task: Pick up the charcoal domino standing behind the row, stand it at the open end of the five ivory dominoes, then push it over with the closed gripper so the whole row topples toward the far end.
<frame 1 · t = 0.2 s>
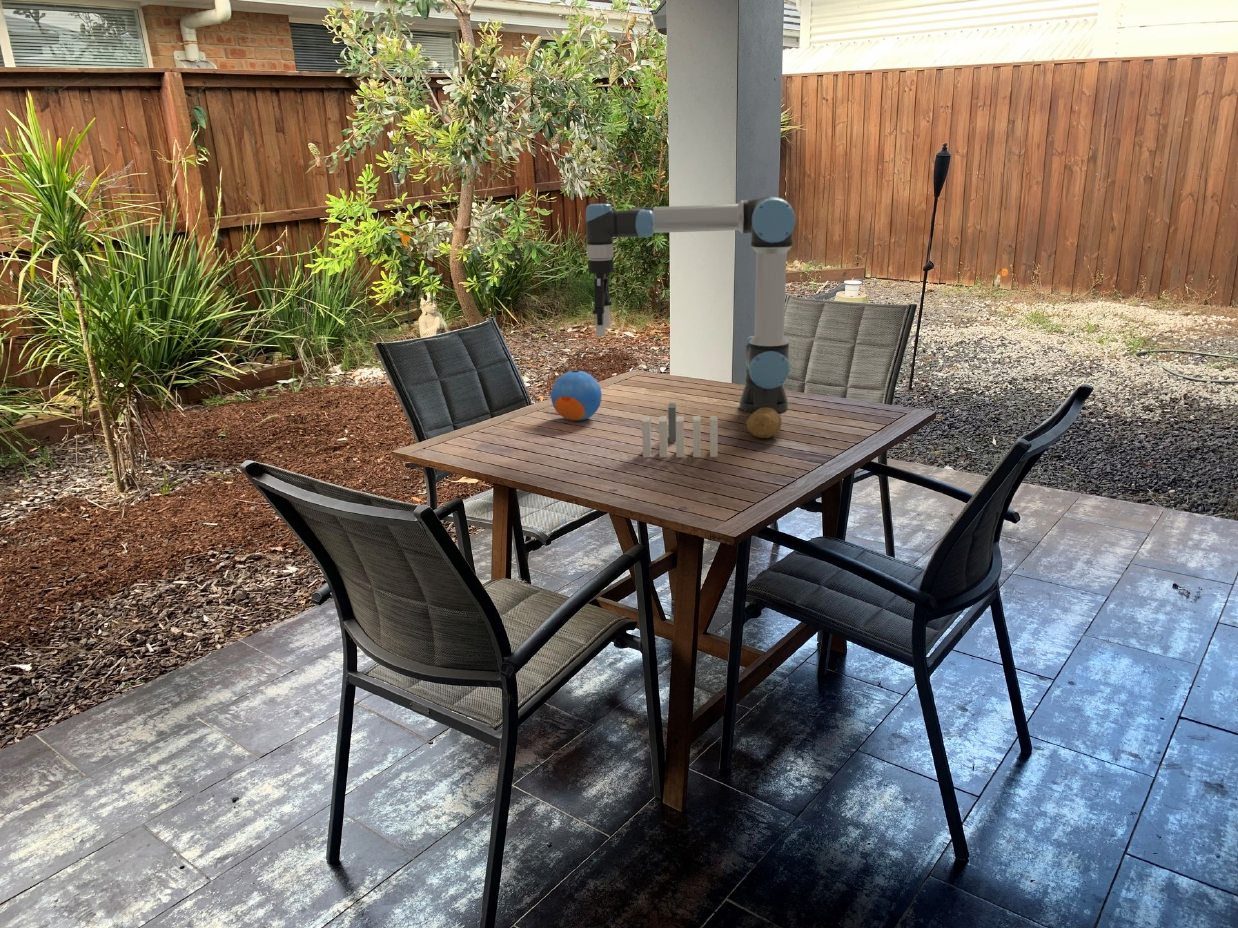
hand: (603, 331, 271), 28 cm above the table, tool pointing down, fingers open, 13 cm apart
potato: (763, 437, 259), on the table
domino 5: (647, 454, 247), on the table
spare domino: (672, 439, 260), on the table
domino 4: (663, 454, 247), on the table
domino 1: (713, 454, 246), on the table
domino 2: (696, 454, 246), on the table
treat dispenser ball: (577, 420, 282), on the table
domino 3: (680, 454, 246), on the table
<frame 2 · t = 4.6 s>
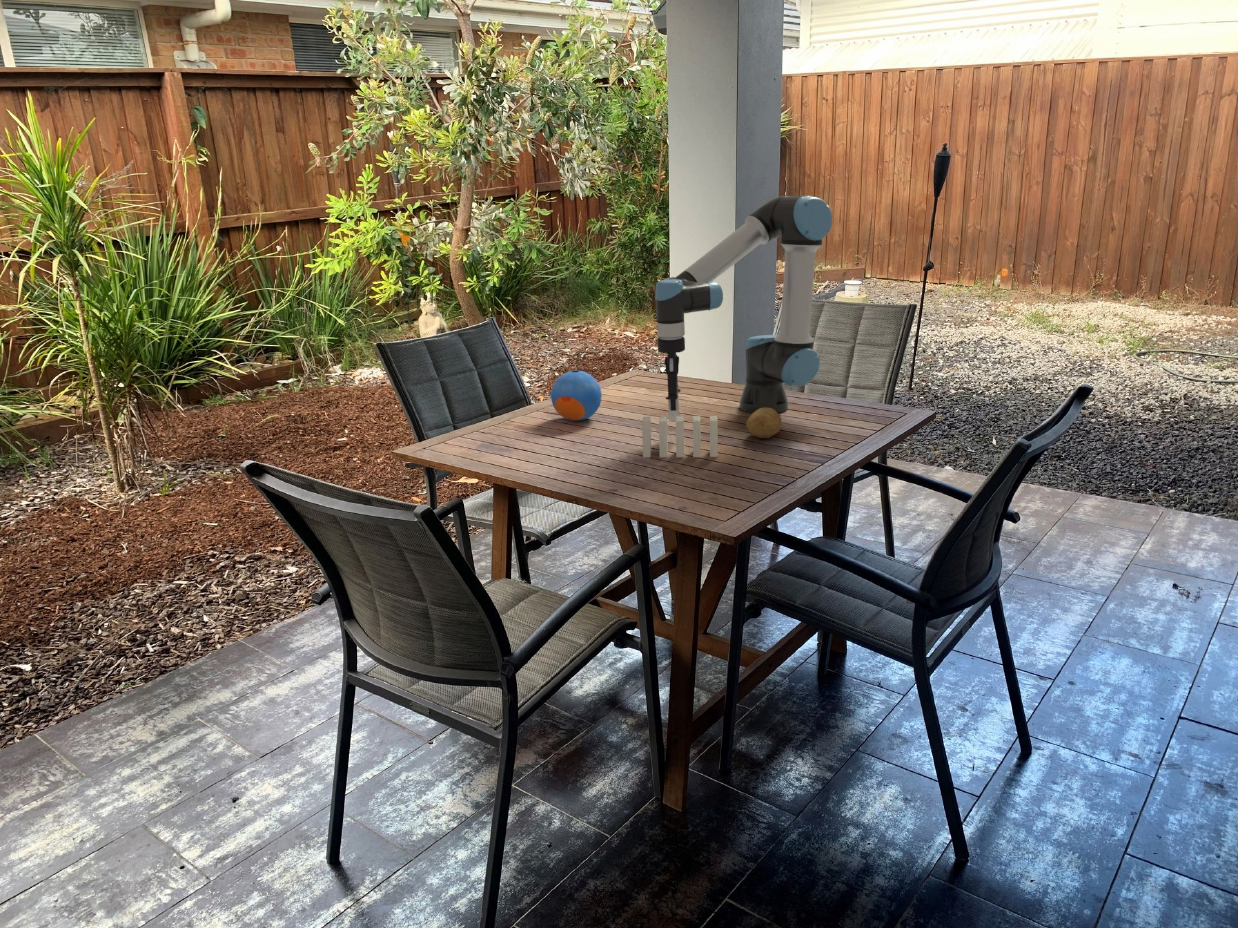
hand: (674, 417, 258), 6 cm above the table, tool pointing down, fingers closed on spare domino, 5 cm apart
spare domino: (674, 419, 258), point 6 cm above the table, touching gripper
everything else where it was.
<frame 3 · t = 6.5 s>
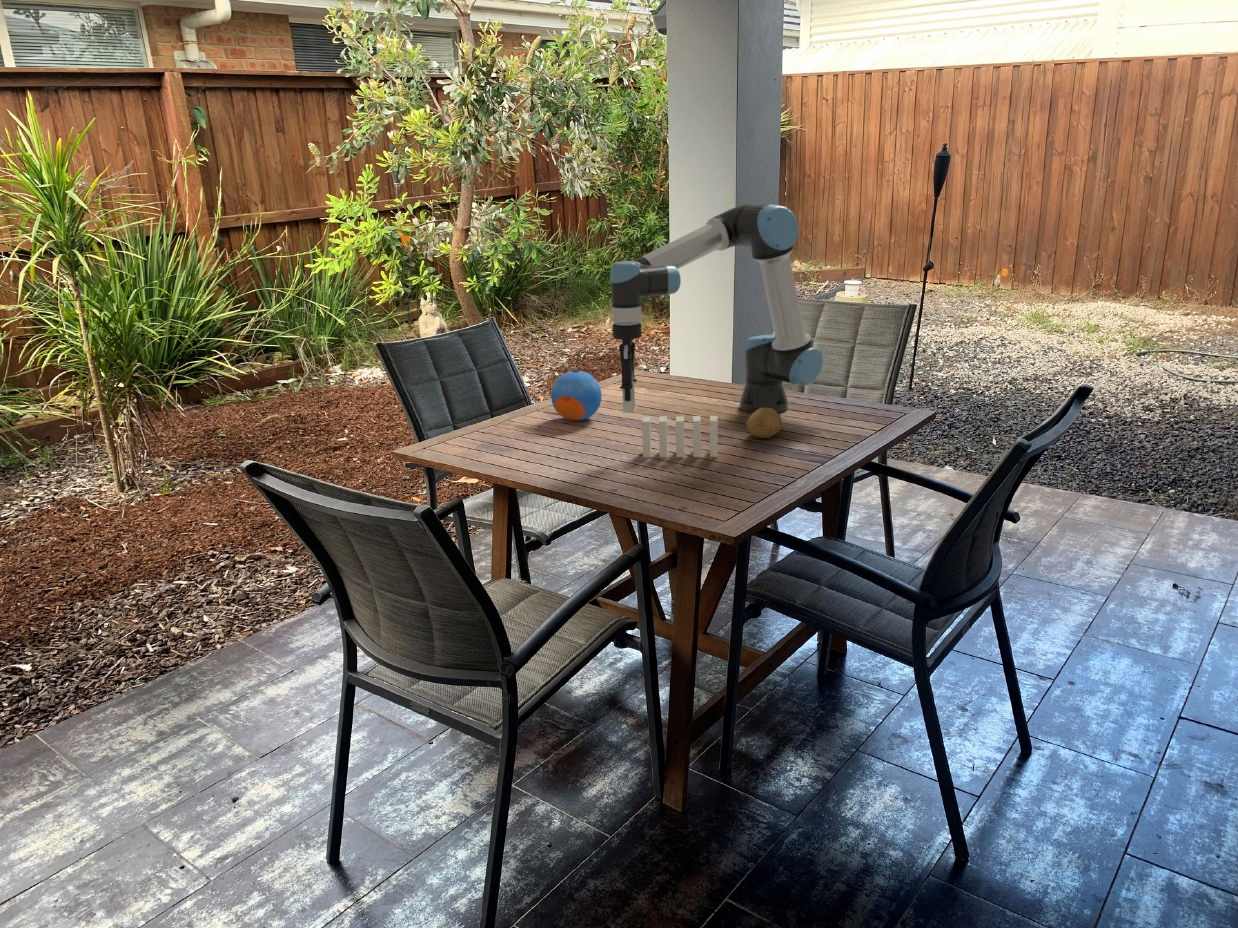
hand: (629, 409, 243), 13 cm above the table, tool pointing down, fingers closed on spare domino, 5 cm apart
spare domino: (629, 410, 244), point 12 cm above the table, touching gripper
everything else where it was.
when the fingers open (0 cm above the table, at t = 8.9 s): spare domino stays where it is, on the table.
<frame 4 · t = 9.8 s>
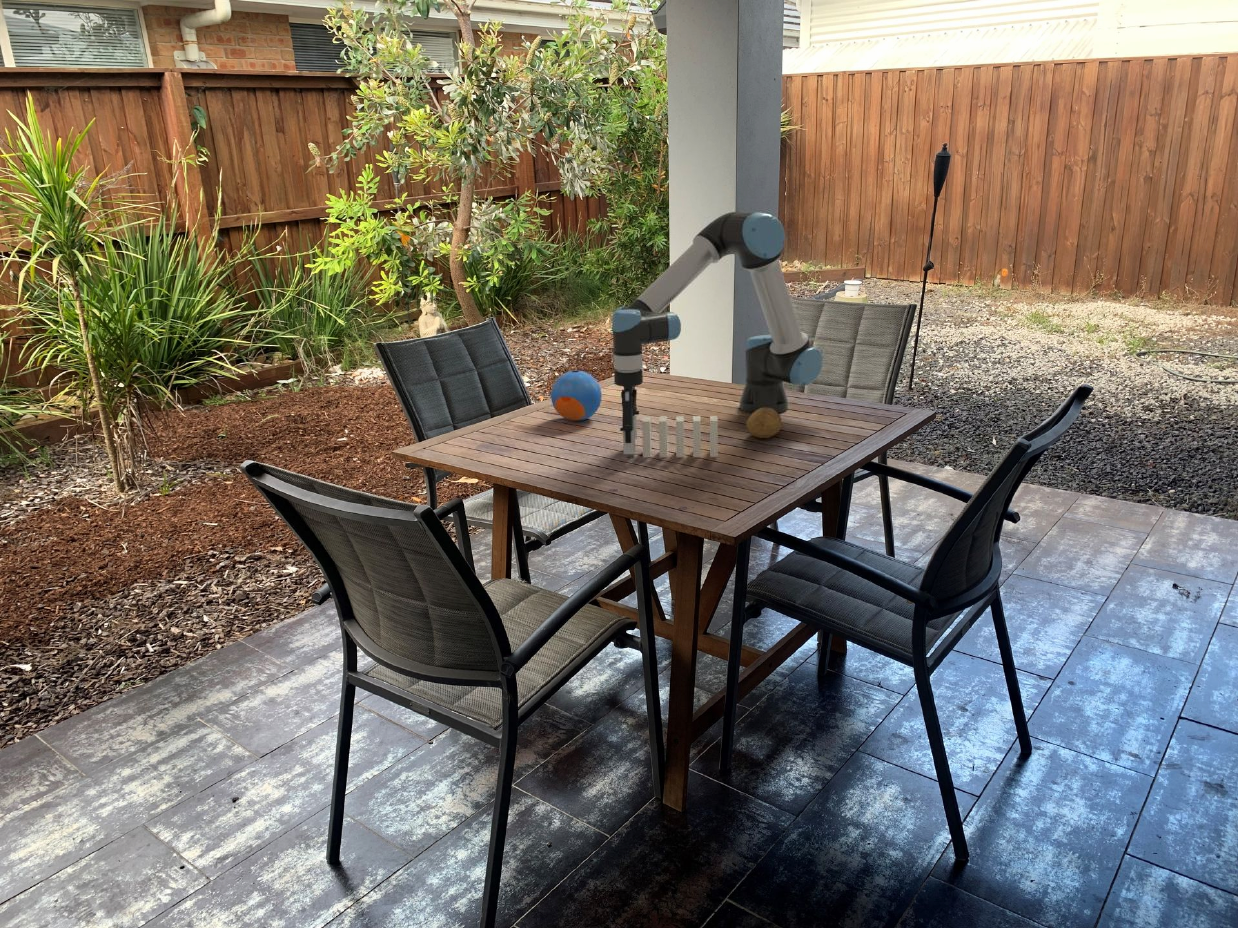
hand: (630, 446, 247), 2 cm above the table, tool pointing down, fingers open, 13 cm apart
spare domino: (631, 454, 248), on the table
everything else where it was.
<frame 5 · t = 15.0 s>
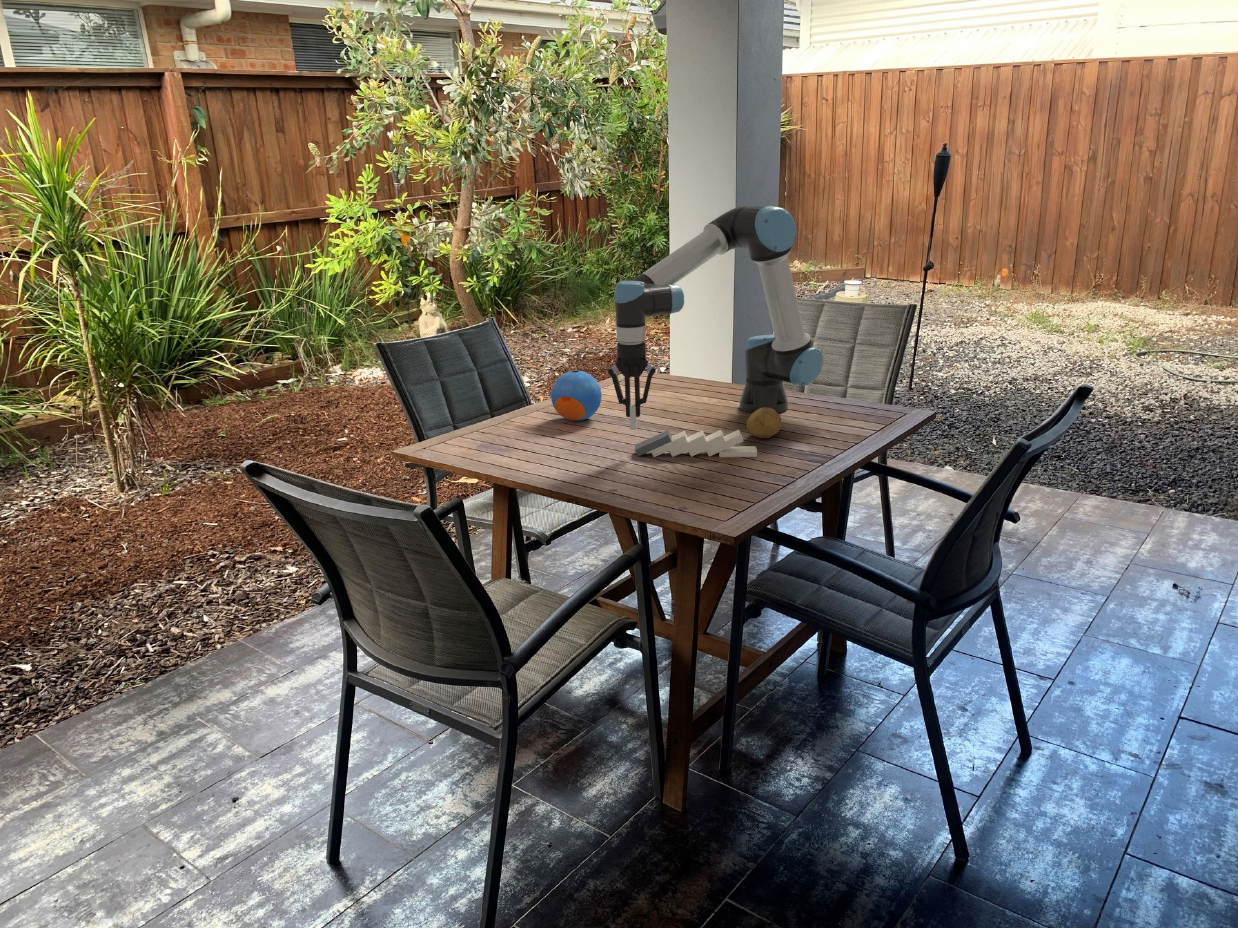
hand: (633, 428, 245), 7 cm above the table, tool pointing down, fingers closed
domino 5: (652, 451, 247), point 1 cm above the table, tilted 66°, touching domino 4, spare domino
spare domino: (636, 450, 247), point 1 cm above the table, tilted 66°, touching domino 5
domino 4: (670, 451, 246), point 1 cm above the table, tilted 66°, touching domino 5
domino 1: (719, 453, 245), on the table, tilted 90°
domino 2: (707, 450, 245), point 1 cm above the table, tilted 65°, touching domino 3
domino 3: (689, 450, 246), point 1 cm above the table, tilted 65°, touching domino 2
everything else where it was.
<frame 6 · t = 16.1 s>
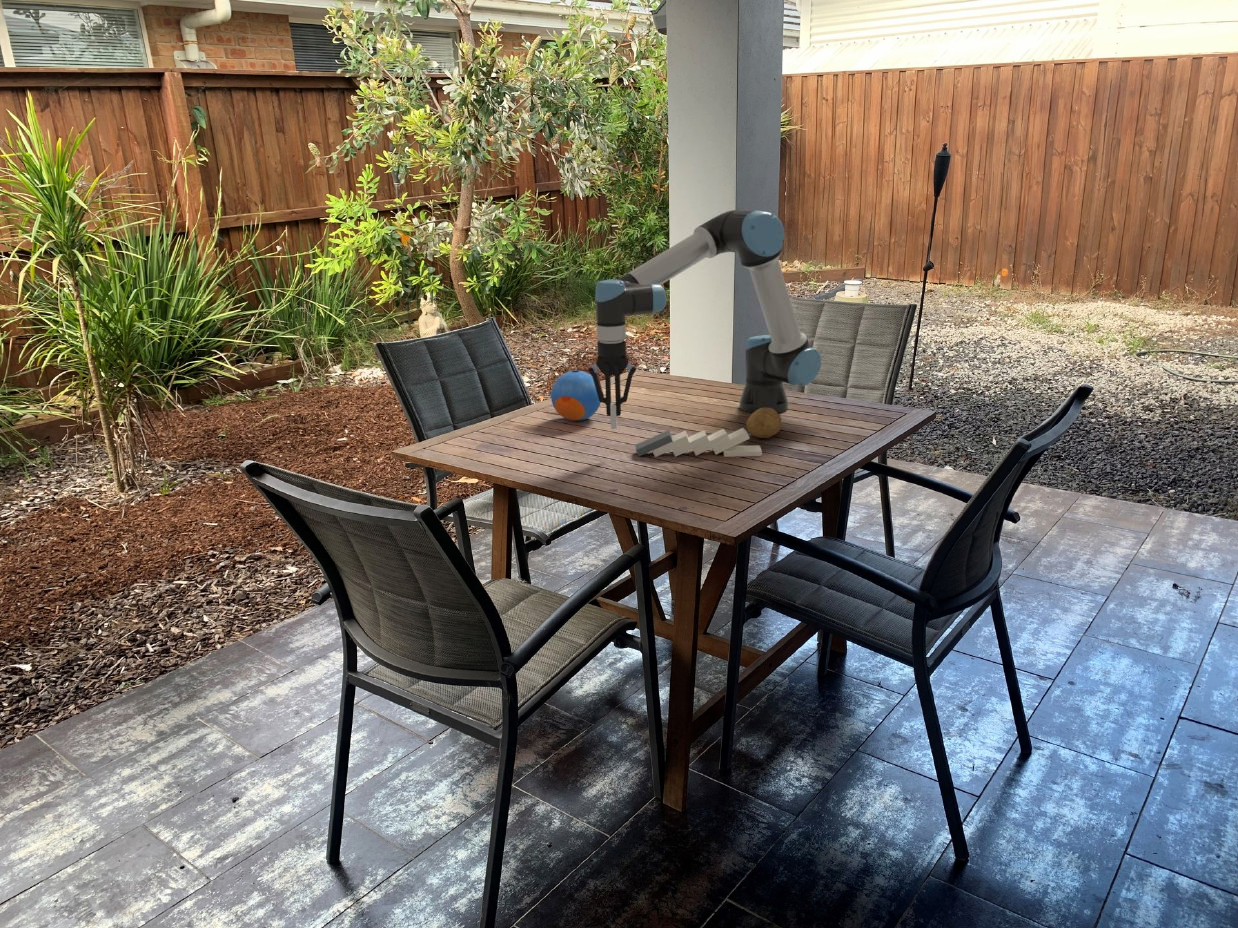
hand: (614, 427, 245), 8 cm above the table, tool pointing down, fingers closed
domino 1: (723, 452, 246), on the table, tilted 90°, touching domino 2
domino 2: (712, 449, 246), point 1 cm above the table, tilted 67°, touching domino 1, domino 3
domino 3: (693, 450, 246), point 1 cm above the table, tilted 67°, touching domino 2
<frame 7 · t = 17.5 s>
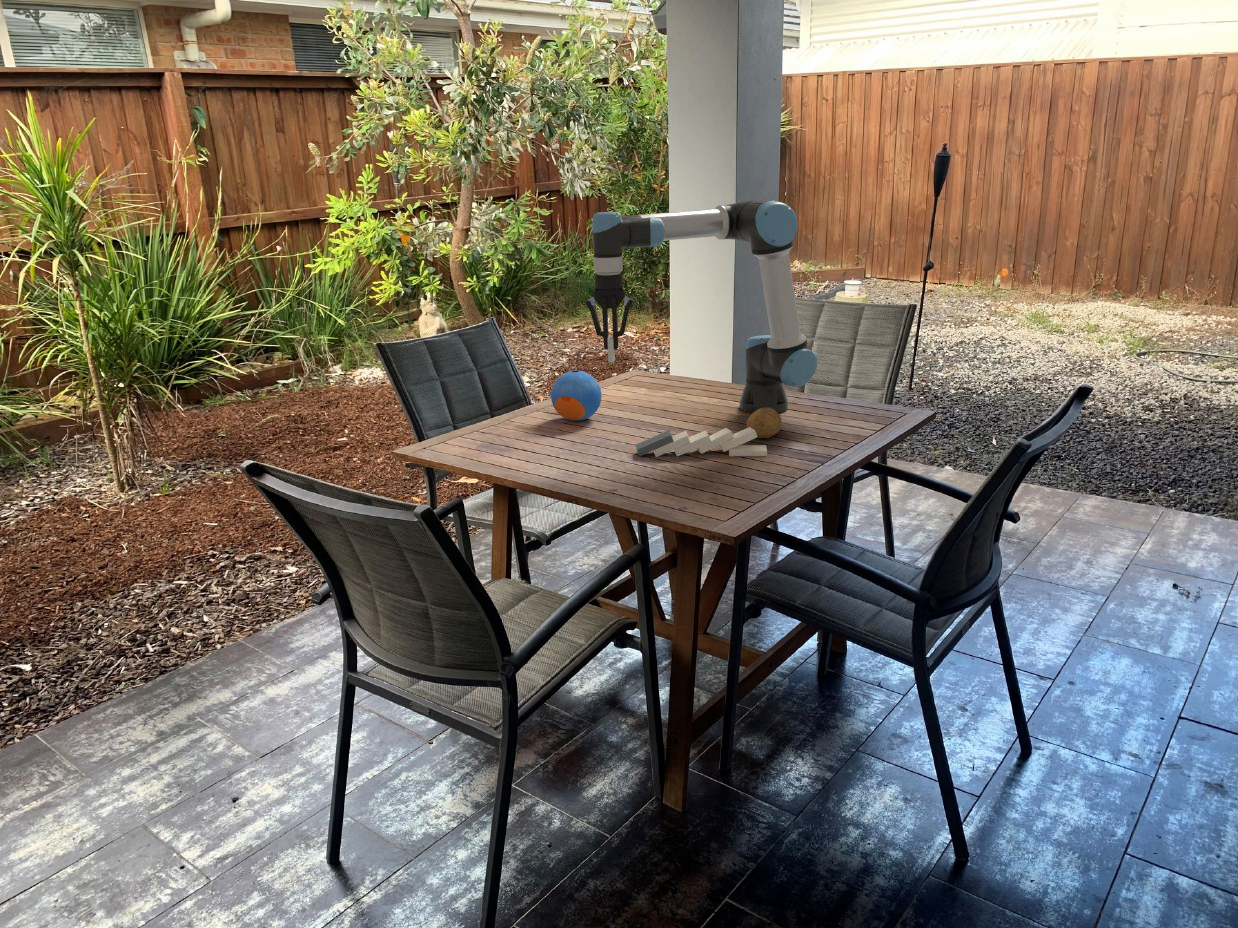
hand: (611, 361, 247), 24 cm above the table, tool pointing down, fingers closed
domino 4: (674, 450, 246), point 1 cm above the table, tilted 69°, touching domino 3, domino 5
domino 1: (729, 451, 246), on the table, tilted 90°, touching domino 2
domino 2: (720, 446, 246), point 2 cm above the table, tilted 70°, touching domino 1, domino 3
domino 3: (697, 448, 247), point 1 cm above the table, tilted 69°, touching domino 2, domino 4
everything else where it was.
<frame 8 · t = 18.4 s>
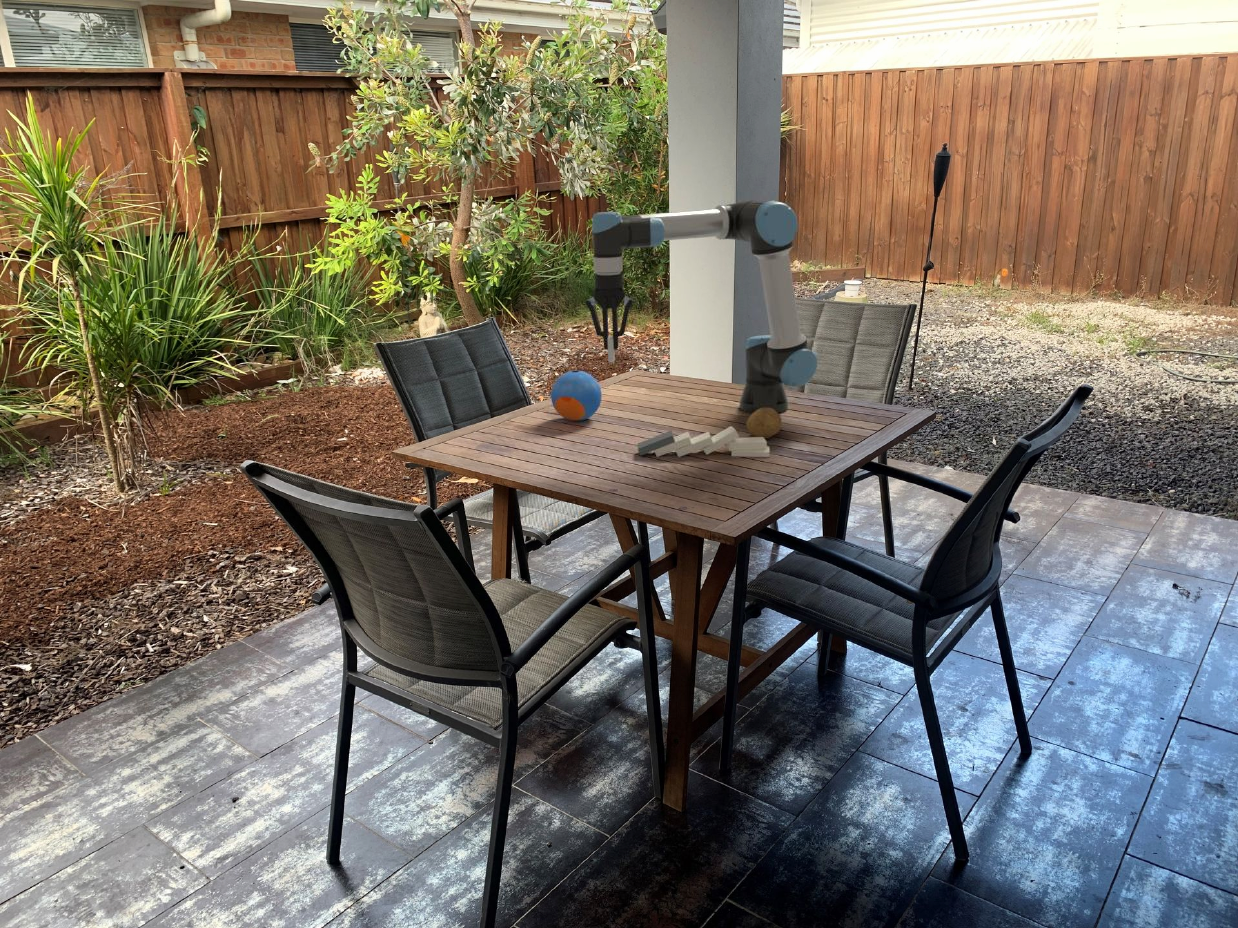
hand: (611, 361, 247), 24 cm above the table, tool pointing down, fingers closed
domino 5: (655, 450, 247), point 1 cm above the table, tilted 69°, touching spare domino
domino 4: (676, 451, 246), point 1 cm above the table, tilted 70°, touching domino 3
domino 2: (728, 444, 246), point 2 cm above the table, tilted 90°, touching domino 1
domino 3: (703, 449, 246), point 1 cm above the table, tilted 63°, touching domino 4
at the end: domino 1 tilted 90°; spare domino tilted 69° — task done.
